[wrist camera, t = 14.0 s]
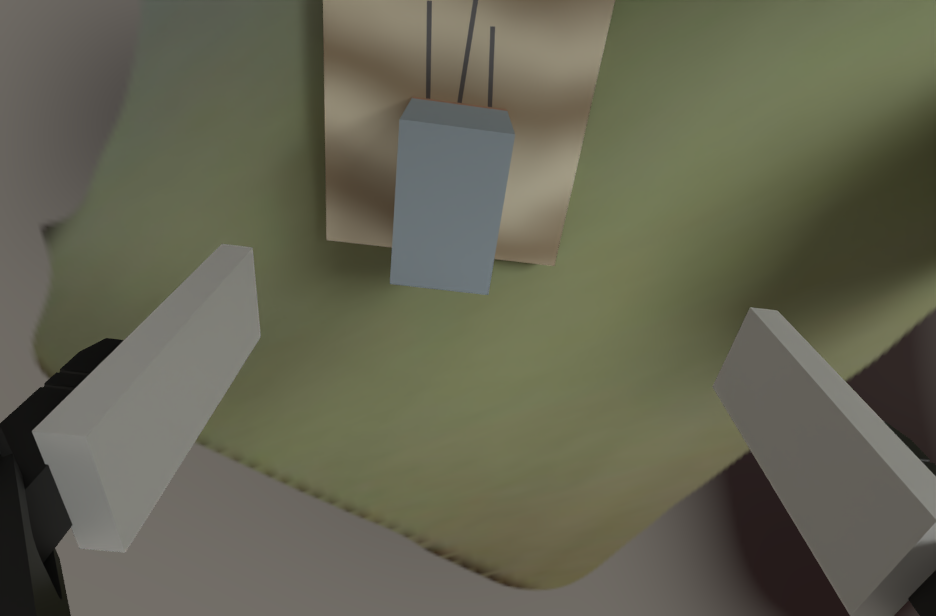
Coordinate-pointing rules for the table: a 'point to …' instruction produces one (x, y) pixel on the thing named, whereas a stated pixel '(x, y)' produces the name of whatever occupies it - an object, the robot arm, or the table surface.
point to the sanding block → (449, 194)
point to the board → (462, 81)
